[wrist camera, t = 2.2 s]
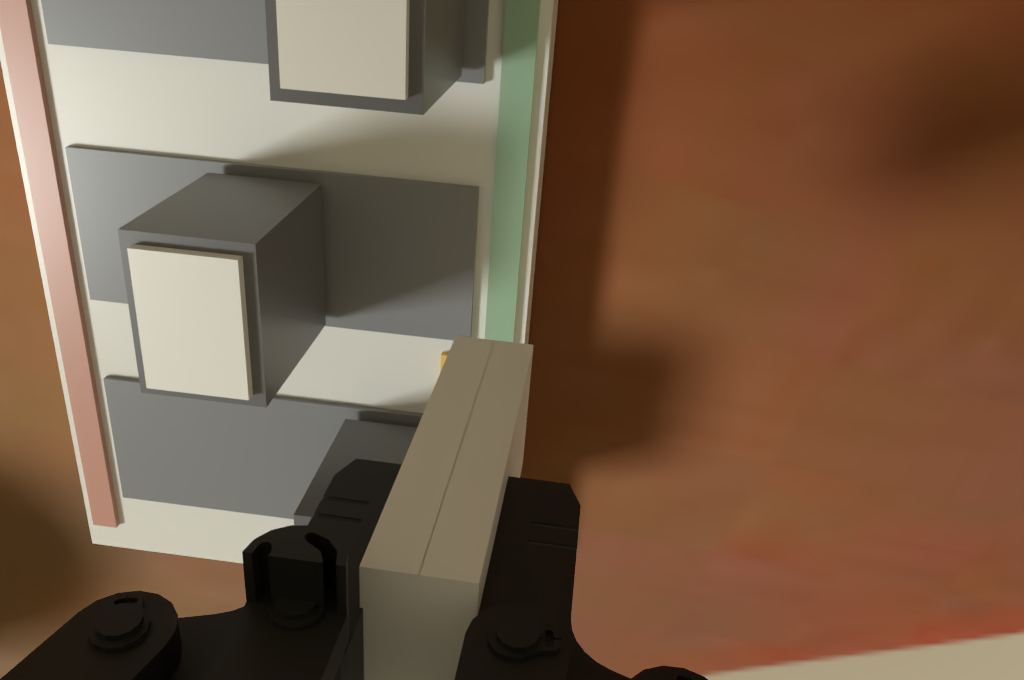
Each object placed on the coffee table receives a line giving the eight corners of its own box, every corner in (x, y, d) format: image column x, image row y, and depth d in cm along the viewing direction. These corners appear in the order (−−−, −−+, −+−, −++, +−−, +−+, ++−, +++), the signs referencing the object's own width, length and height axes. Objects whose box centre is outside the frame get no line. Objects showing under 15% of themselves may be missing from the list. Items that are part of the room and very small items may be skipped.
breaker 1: (220, 312, 24) (135, 397, 20) (207, 172, 22) (111, 233, 18) (325, 324, 24) (262, 413, 20) (321, 183, 22) (250, 248, 18)
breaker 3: (347, 527, 27) (297, 642, 23) (345, 418, 25) (290, 520, 21) (442, 539, 27) (409, 657, 22) (446, 431, 25) (411, 536, 21)
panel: (122, 507, 31) (89, 547, 29) (-76, -685, 17) (-165, -762, 15) (509, 557, 30) (502, 602, 28) (616, -663, 16) (616, -741, 14)
